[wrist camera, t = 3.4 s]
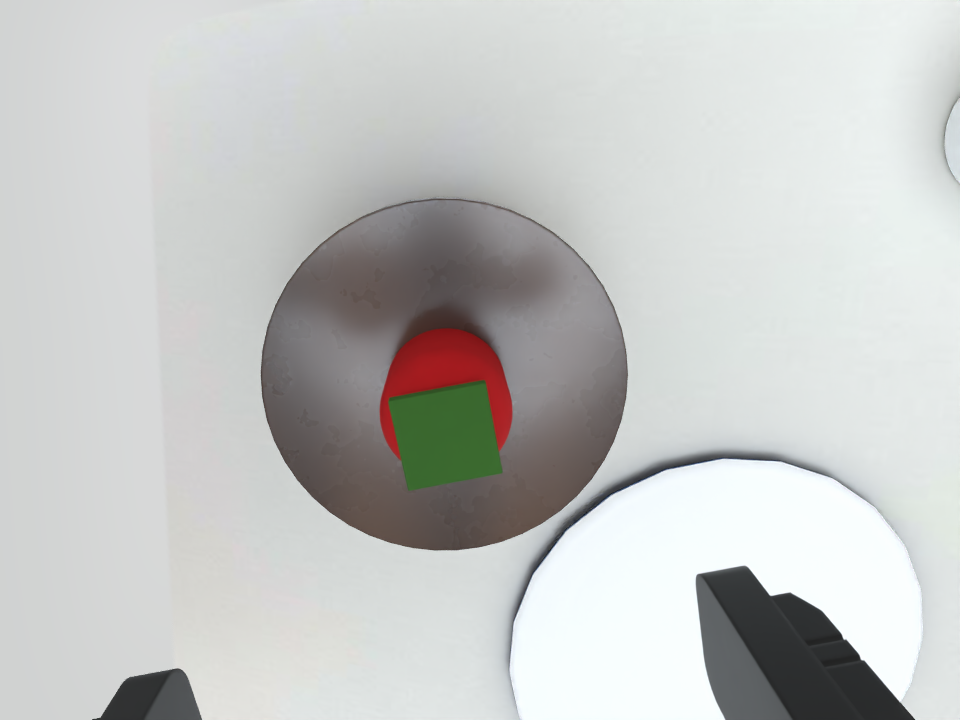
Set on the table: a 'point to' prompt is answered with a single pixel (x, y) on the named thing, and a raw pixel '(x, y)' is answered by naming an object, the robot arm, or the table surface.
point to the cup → (953, 141)
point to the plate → (672, 588)
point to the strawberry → (446, 408)
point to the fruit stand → (435, 305)
